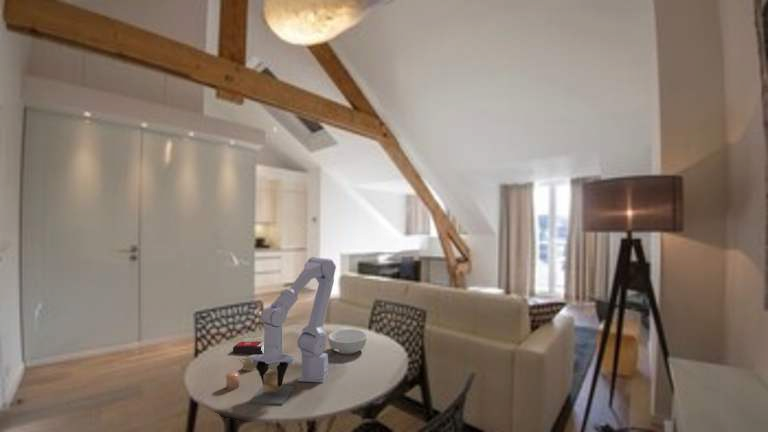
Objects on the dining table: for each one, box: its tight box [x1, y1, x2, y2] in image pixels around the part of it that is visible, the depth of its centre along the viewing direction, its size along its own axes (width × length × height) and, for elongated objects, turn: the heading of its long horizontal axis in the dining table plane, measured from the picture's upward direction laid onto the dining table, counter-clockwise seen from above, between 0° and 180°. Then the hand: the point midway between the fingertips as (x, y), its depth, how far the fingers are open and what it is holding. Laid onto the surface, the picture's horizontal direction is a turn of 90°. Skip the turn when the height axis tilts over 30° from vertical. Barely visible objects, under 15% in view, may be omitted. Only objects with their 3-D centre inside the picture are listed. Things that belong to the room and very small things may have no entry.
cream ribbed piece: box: [238, 354, 258, 372], centre depth 134 cm, size 4×8×5 cm, turn 127°
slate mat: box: [248, 385, 295, 406], centre depth 114 cm, size 11×11×1 cm
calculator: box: [232, 337, 264, 355], centre depth 154 cm, size 11×4×15 cm
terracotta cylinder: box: [225, 371, 240, 391], centre depth 120 cm, size 4×4×4 cm
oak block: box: [262, 369, 283, 393], centre depth 114 cm, size 4×4×6 cm
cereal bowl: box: [328, 328, 368, 355], centre depth 153 cm, size 17×17×7 cm
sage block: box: [268, 363, 280, 370], centre depth 135 cm, size 4×4×4 cm
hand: (272, 384), depth 114 cm, fingers closed on oak block, 4 cm apart
